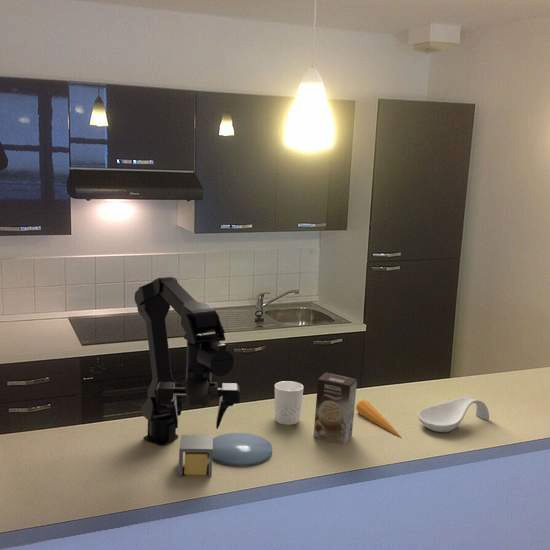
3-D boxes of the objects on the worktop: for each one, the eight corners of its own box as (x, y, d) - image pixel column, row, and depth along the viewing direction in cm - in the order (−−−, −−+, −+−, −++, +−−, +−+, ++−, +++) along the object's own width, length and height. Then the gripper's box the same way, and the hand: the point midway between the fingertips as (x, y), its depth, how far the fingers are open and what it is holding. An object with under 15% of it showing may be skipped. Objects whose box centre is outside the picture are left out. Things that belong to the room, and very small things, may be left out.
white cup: (298, 427, 183) (300, 392, 182) (270, 423, 185) (272, 389, 183) (303, 416, 191) (305, 382, 189) (276, 413, 192) (277, 379, 191)
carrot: (355, 414, 197) (352, 402, 195) (368, 407, 198) (365, 395, 196) (397, 449, 180) (394, 435, 178) (410, 440, 181) (407, 427, 179)
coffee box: (312, 436, 178) (316, 378, 175) (321, 428, 184) (324, 371, 181) (345, 444, 174) (349, 385, 171) (353, 435, 180) (357, 378, 177)
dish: (194, 454, 165) (194, 449, 164) (230, 432, 178) (231, 427, 178) (249, 472, 157) (249, 467, 157) (283, 448, 170) (284, 443, 170)
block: (185, 464, 159) (185, 444, 158) (206, 464, 160) (207, 444, 159) (184, 474, 154) (184, 454, 153) (206, 474, 155) (207, 454, 154)
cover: (180, 461, 160) (181, 434, 159) (211, 462, 161) (212, 435, 160) (178, 476, 153) (179, 448, 152) (211, 477, 154) (212, 449, 152)
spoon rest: (438, 440, 180) (441, 415, 179) (407, 424, 190) (410, 400, 189) (498, 425, 193) (501, 401, 191) (466, 410, 202) (469, 388, 201)
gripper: (153, 373, 144) (152, 442, 146) (241, 375, 145) (238, 443, 148) (158, 357, 154) (157, 421, 157) (240, 359, 156) (237, 422, 159)
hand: (197, 427), depth 155 cm, fingers open, 9 cm apart
